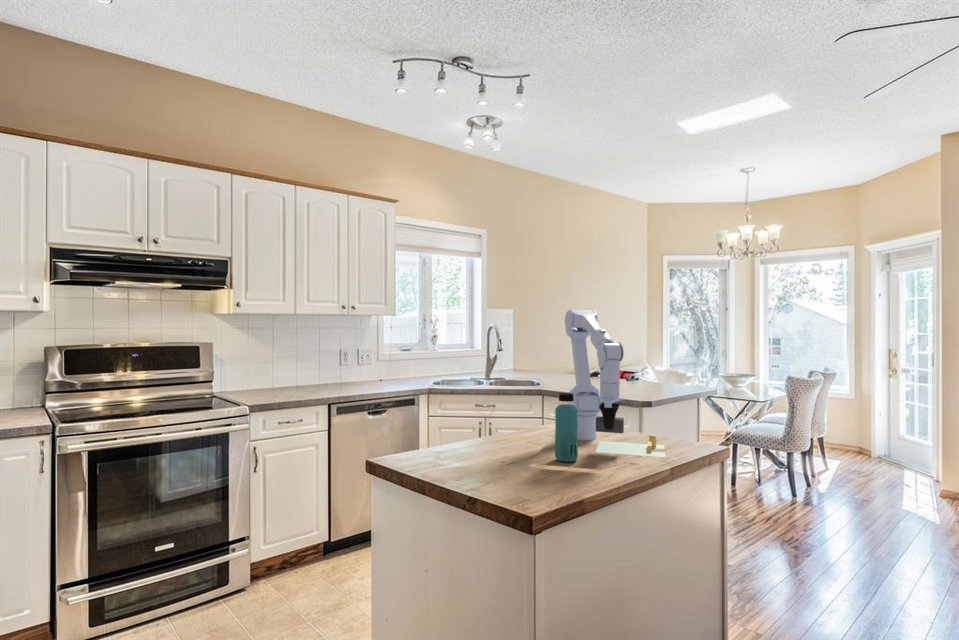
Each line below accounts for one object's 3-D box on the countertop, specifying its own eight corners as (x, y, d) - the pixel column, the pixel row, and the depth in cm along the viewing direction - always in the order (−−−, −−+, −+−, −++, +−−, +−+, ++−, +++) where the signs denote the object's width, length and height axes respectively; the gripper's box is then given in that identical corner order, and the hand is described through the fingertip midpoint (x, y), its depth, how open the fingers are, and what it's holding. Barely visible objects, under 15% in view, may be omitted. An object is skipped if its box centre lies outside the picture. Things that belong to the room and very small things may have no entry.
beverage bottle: (571, 468, 152) (571, 395, 152) (550, 464, 156) (550, 393, 156) (582, 463, 157) (582, 392, 157) (561, 459, 161) (561, 390, 161)
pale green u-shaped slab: (595, 455, 166) (595, 440, 166) (599, 443, 181) (599, 430, 181) (665, 460, 160) (665, 445, 160) (664, 448, 175) (664, 434, 175)
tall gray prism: (595, 431, 166) (595, 418, 166) (596, 429, 169) (596, 416, 169) (623, 433, 164) (623, 419, 164) (623, 431, 167) (623, 417, 167)
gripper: (622, 386, 158) (622, 433, 158) (624, 380, 172) (624, 424, 172) (597, 385, 160) (596, 432, 160) (601, 379, 174) (600, 422, 174)
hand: (609, 427), depth 167 cm, fingers closed on tall gray prism, 3 cm apart
